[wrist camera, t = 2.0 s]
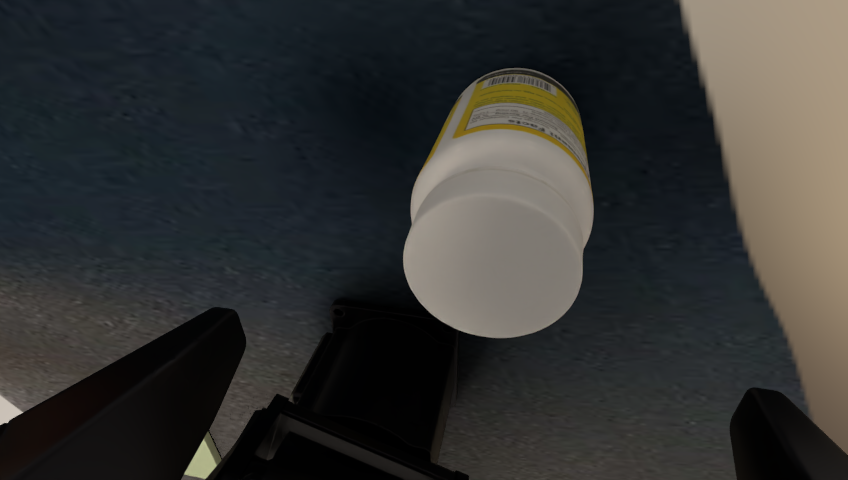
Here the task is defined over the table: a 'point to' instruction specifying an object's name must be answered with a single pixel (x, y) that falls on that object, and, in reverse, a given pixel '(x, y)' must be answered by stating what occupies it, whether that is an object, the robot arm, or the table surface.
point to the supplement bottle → (502, 208)
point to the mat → (204, 459)
